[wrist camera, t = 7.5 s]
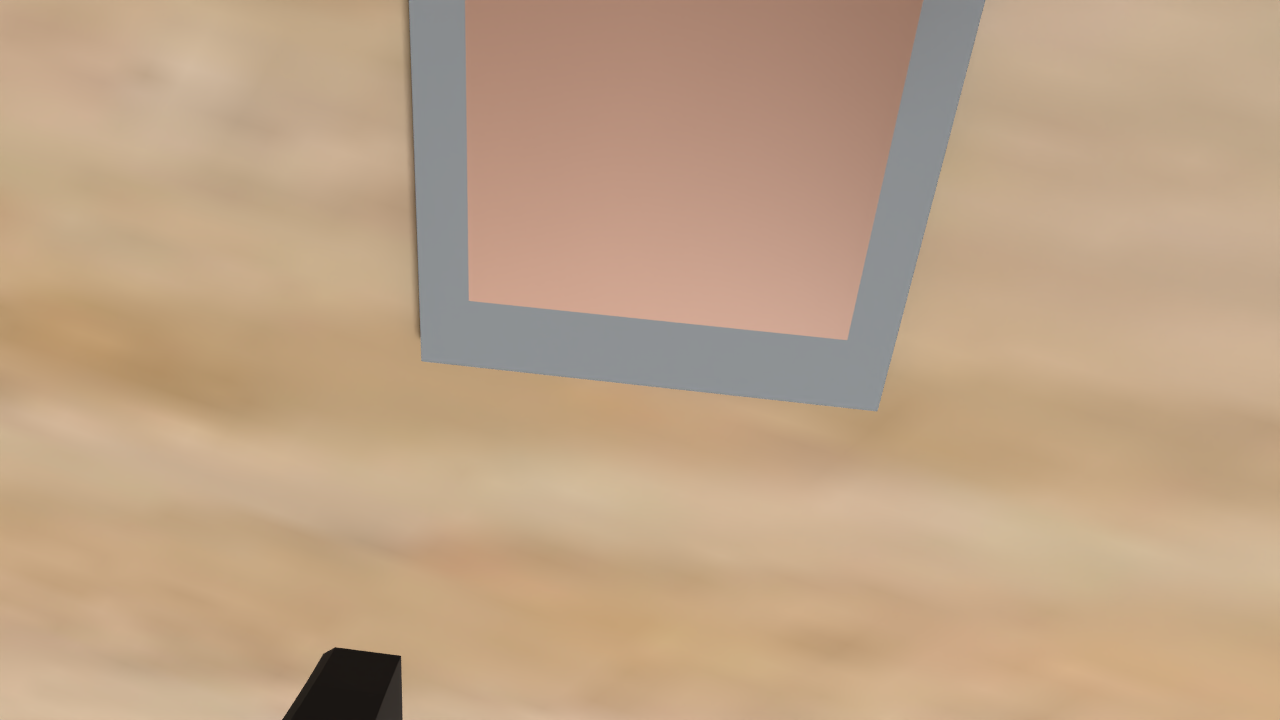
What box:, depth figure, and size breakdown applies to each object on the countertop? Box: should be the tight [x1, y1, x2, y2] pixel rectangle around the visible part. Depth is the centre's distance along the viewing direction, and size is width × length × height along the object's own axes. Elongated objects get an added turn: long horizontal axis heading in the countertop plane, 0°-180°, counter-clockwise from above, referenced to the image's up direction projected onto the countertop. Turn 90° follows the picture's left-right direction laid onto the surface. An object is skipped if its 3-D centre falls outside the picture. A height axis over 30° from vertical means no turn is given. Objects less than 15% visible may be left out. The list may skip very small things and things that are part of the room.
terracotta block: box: [465, 0, 923, 340], centre depth 13 cm, size 4×4×6 cm
